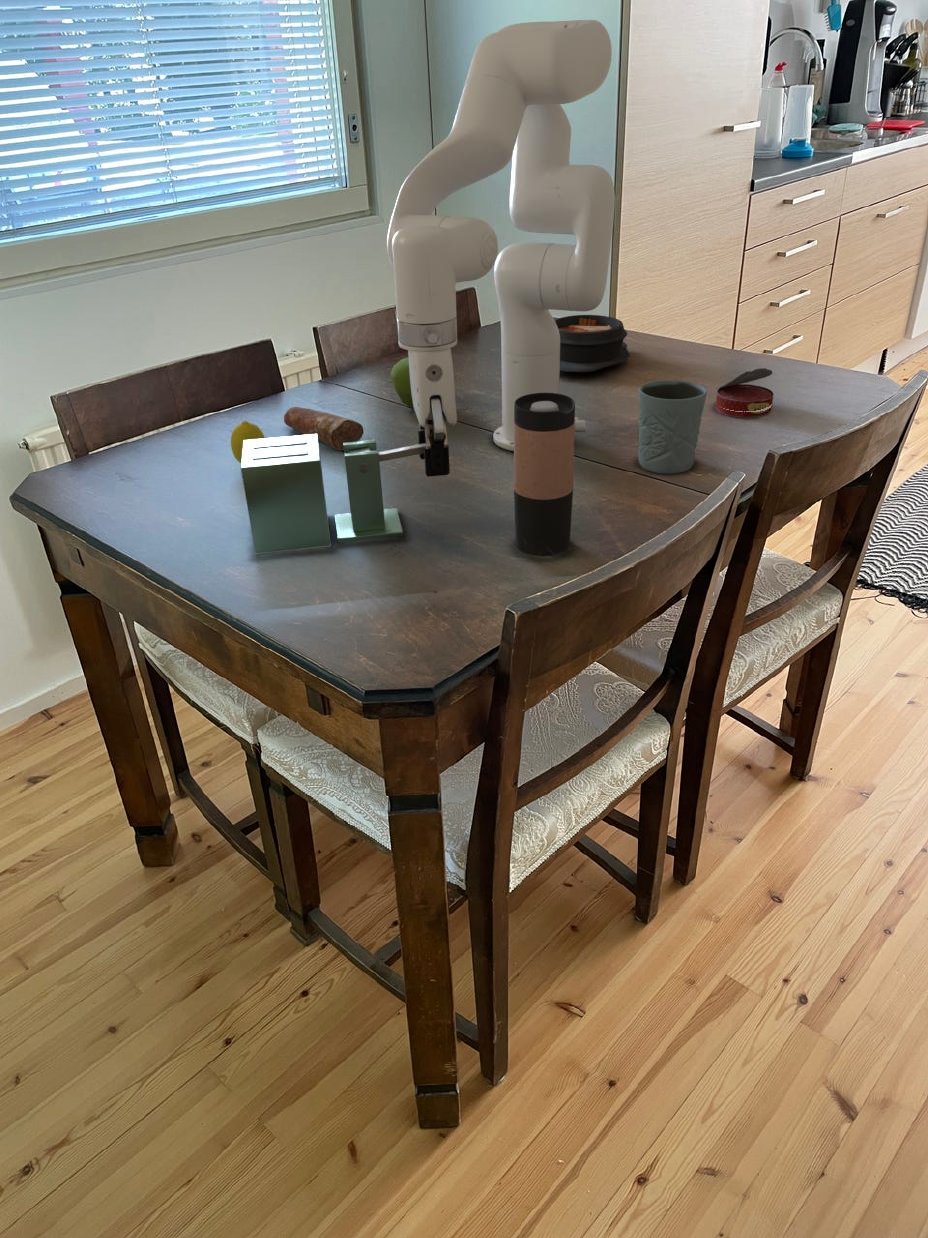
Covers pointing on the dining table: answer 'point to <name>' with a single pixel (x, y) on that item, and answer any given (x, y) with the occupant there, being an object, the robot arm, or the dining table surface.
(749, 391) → the canned food
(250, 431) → the lemon
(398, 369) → the apple
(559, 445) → the travel mug
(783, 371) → the dining table surface
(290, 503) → the toaster
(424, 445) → the lever
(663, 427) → the green embossed cup
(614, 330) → the casserole
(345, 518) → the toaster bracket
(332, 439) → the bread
